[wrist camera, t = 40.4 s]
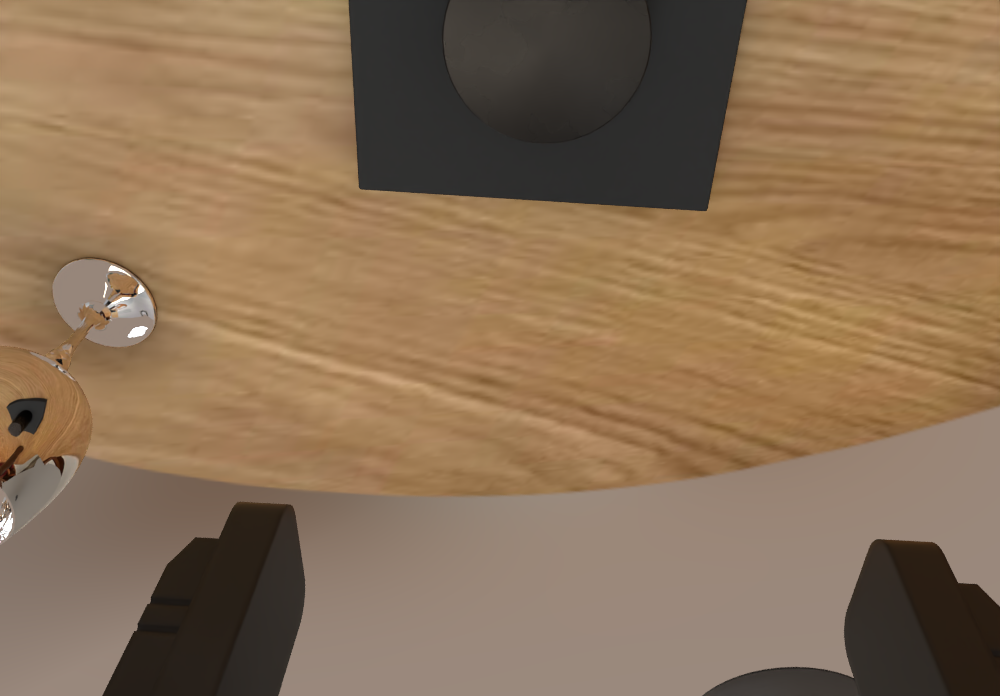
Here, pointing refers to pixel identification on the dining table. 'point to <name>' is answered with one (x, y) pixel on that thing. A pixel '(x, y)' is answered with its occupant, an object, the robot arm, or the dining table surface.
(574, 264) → the dining table surface
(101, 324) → the wineglass
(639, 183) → the mat
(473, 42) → the jar lid
